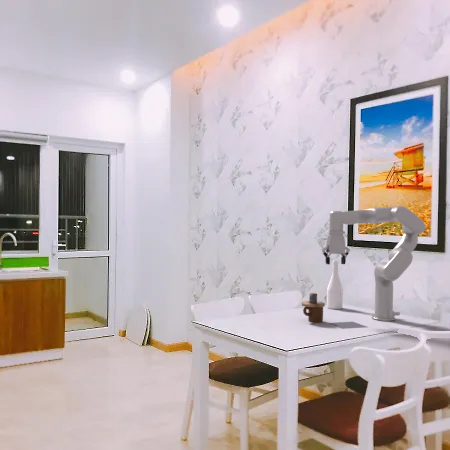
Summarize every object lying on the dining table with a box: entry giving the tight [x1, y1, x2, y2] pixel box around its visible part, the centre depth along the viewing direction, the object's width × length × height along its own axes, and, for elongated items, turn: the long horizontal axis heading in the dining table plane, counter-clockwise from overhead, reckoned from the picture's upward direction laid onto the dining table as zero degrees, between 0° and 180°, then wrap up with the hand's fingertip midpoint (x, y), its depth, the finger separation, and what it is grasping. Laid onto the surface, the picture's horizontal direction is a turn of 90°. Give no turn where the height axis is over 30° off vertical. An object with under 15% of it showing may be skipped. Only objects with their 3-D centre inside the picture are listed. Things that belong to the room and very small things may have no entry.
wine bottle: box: [326, 259, 344, 310], centre depth 311 cm, size 10×10×30 cm
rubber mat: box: [328, 321, 368, 330], centre depth 256 cm, size 15×14×1 cm
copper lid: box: [301, 292, 325, 308], centre depth 263 cm, size 12×12×6 cm
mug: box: [302, 306, 324, 324], centre depth 263 cm, size 12×8×9 cm, turn 119°
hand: (335, 264), depth 276 cm, fingers open, 9 cm apart
